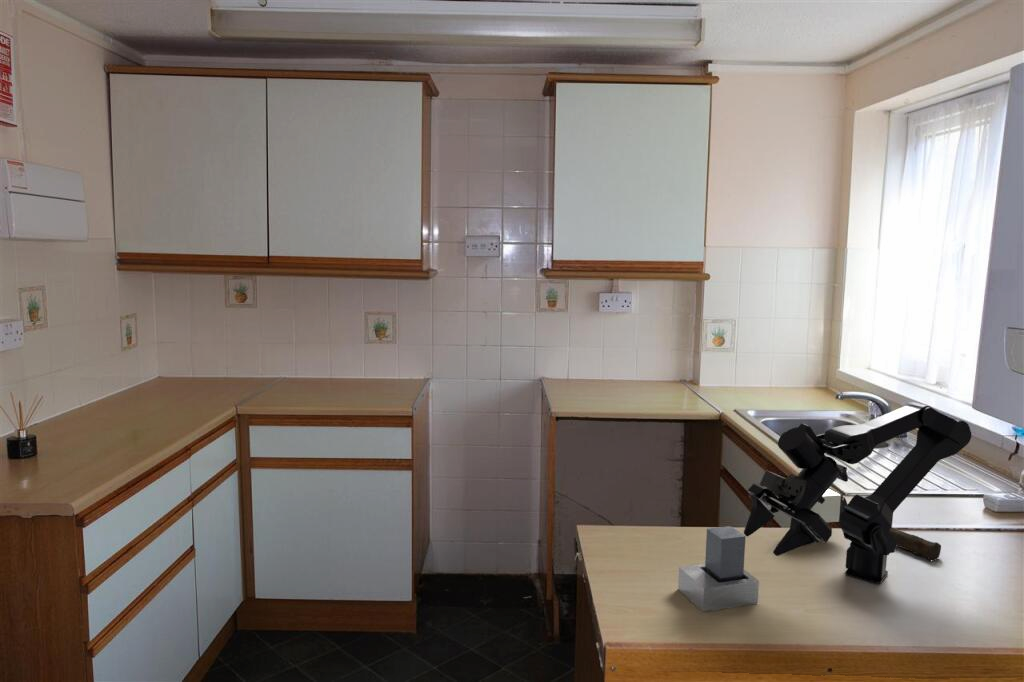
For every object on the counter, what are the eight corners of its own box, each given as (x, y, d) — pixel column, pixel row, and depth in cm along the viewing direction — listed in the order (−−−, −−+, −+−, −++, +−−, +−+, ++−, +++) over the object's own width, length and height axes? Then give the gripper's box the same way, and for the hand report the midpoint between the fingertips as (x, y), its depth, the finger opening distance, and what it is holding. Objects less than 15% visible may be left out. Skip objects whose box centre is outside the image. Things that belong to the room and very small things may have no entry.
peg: (726, 587, 138) (729, 526, 136) (741, 600, 133) (745, 536, 131) (703, 591, 136) (706, 528, 135) (718, 603, 132) (721, 539, 130)
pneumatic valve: (845, 541, 161) (849, 489, 159) (798, 544, 158) (802, 492, 157) (830, 531, 166) (833, 481, 164) (784, 534, 164) (787, 484, 162)
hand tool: (941, 560, 152) (943, 539, 151) (930, 563, 150) (932, 542, 150) (862, 528, 169) (864, 509, 168) (851, 531, 167) (852, 512, 166)
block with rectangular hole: (730, 581, 140) (731, 560, 140) (757, 603, 132) (758, 580, 131) (678, 589, 137) (679, 566, 136) (702, 611, 129) (703, 588, 128)
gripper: (757, 443, 144) (707, 501, 142) (822, 471, 126) (765, 538, 124) (789, 477, 147) (740, 534, 145) (856, 509, 129) (801, 575, 128)
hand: (759, 544), depth 136 cm, fingers open, 9 cm apart
